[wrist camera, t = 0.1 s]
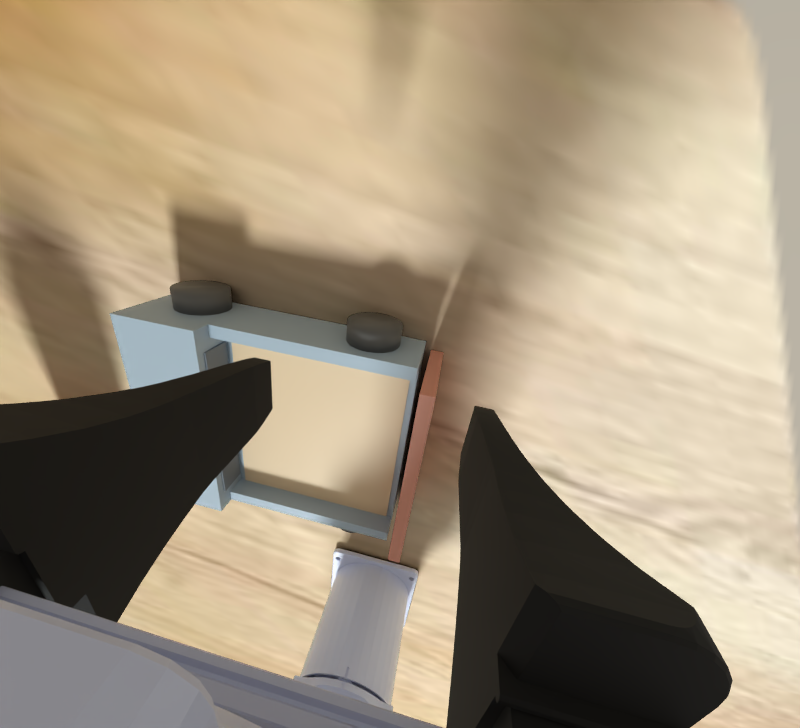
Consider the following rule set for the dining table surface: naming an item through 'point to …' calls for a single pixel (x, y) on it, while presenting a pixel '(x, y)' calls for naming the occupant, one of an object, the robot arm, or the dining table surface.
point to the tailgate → (416, 452)
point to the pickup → (292, 400)
